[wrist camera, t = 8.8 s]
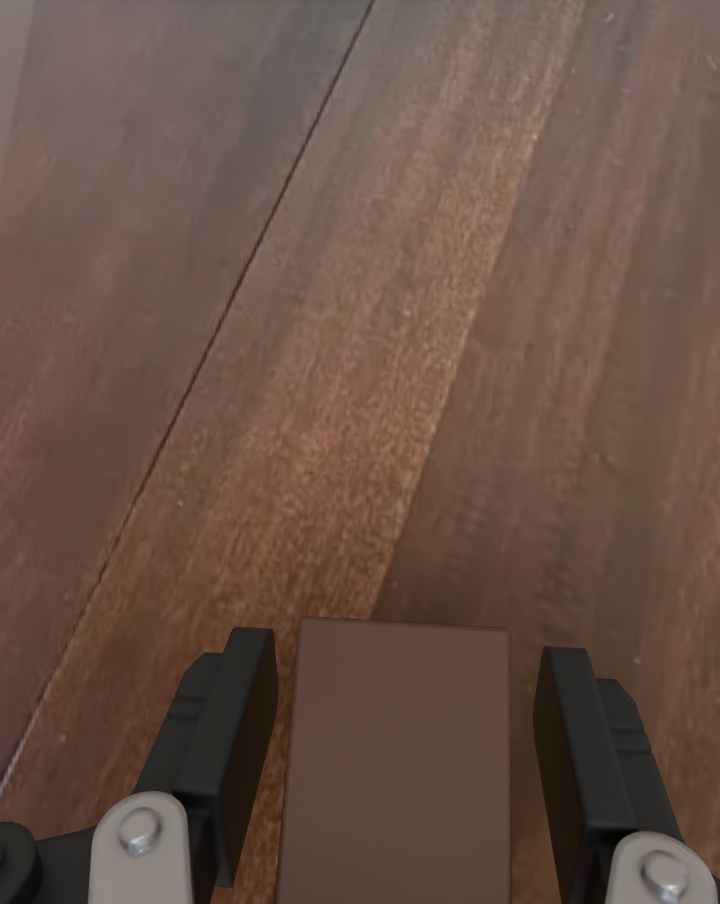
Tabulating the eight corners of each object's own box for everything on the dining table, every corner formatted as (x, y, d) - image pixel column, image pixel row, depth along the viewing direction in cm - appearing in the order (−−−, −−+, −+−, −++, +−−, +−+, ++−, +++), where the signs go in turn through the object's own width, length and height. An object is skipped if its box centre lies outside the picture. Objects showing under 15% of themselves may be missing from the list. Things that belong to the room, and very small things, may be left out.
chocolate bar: (344, 831, 20) (255, 1045, 8) (355, 647, 21) (295, 611, 10) (453, 840, 19) (518, 1074, 8) (456, 653, 21) (514, 624, 10)
